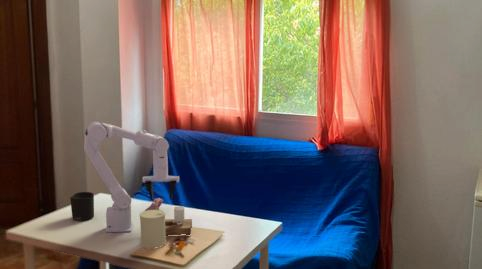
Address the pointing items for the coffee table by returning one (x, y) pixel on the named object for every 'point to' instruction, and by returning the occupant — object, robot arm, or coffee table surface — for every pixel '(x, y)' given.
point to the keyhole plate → (178, 227)
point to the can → (152, 228)
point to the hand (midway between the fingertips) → (161, 198)
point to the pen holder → (82, 206)
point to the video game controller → (155, 204)
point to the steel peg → (179, 215)
